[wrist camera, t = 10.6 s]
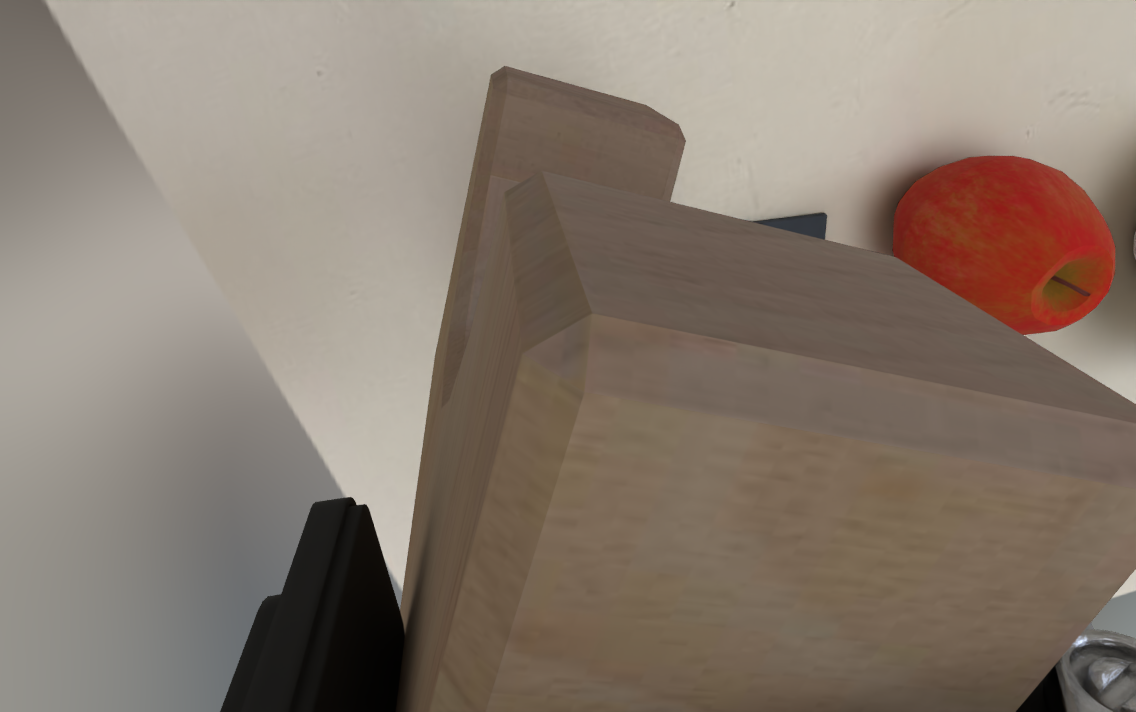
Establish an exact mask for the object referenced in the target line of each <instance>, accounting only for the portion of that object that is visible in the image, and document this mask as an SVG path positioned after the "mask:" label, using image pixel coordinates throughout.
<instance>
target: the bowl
mask: <svg viewBox="0 0 1136 712" xmlns="http://www.w3.org/2000/svg"><path fill="white" fill-rule="evenodd" d="M1133 252H1134V256H1135V259H1136V232H1135V235H1134V250H1133Z"/></svg>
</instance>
